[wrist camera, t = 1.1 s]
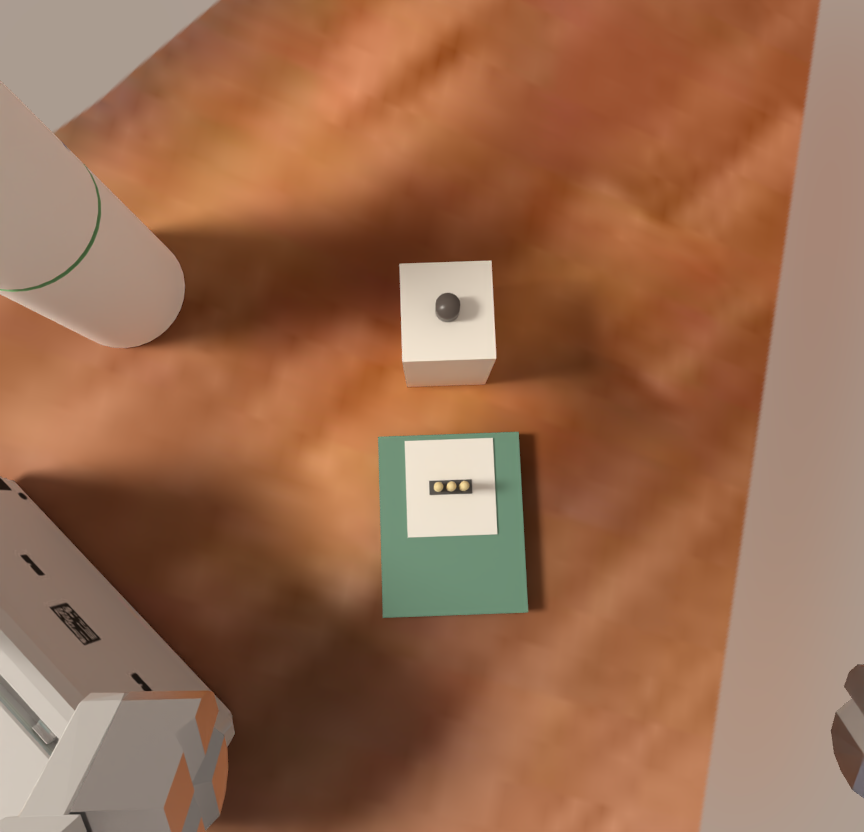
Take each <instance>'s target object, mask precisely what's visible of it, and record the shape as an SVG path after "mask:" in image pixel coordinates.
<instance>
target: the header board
mask: <svg viewBox="0 0 864 832" xmlns="http://www.w3.org/2000/svg"><path fill="white" fill-rule="evenodd" d="M378 447H379V486H380V525H381V564H382V603H383V618H391V617H417V616H444V615H471V614H497V613H524V612H528V599H527V581H526V562H525V543H524V524H523V505H522V486H521V468H520V449H519V432H502V433H473V434H445V435H417V436H389V437H378Z"/></svg>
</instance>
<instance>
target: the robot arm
mask: <svg viewBox="0 0 864 832" xmlns="http://www.w3.org/2000/svg"><path fill="white" fill-rule="evenodd" d="M844 687H845V688H846V690H847V691H848V693H849V695H850V696H851V698H852V699H851V700H849V701H848V702H847V703H846V704H845V705H843V706H842V707H841V708H840V709H838V710H837V711H836V713H835V718H834V721H833V726H832V729H831V734H832V741H833V749H834V754H835V757H836V759H837V762H838V765H839V767H840V770H841V772H842V774H843V775H844V777H845V778H846V780H847V782H848V783H849V785H850V787H851V789H852V790H853V791H854V792H856V793H857V794H859V795H860V796H861V797H863V798H864V664H858V665H857V666H855V667H854V668H853V669H852V670H851V671H850V672H849V674H848V677H847V680H846V682H845V685H844ZM218 712H219V710H218V706H217V702H216V699H215V695H214V692H211V691H130V692H101V693H90V694H89V695H88V696H86V697H85V698H84V699H83V700H82V701H81V702H80V703H79V704H78V706H77V708H76V710H75V712H74V714H73V715H72V717H71V719H70V721H69V723H68V725H67V727H66V728H65V730H64V732H63V734H62V736H61V738H60V739H59V741H58V743H57V745H56V747H55V749H54V751H53V752H52V754H51V756H50V758H49V760H48V762H47V764H46V765H45V767H44V769H43V771H42V773H41V775H40V777H39V778H38V780H37V782H36V784H35V786H34V788H33V790H32V791H31V793H30V795H29V797H28V799H27V801H26V802H25V804H24V806H23V808H22V810H21V812H20V814H19V815H18V816H15V817H5V818H3V819H2V820H1V821H0V832H205V830H206V829H207V828H208V827H209V826H210V825H211V824H212V823H213V822H214V821H215V820H216V819H217V818H218V817H219V816H220V813H221V809H222V805H223V801H224V797H225V793H226V784H227V775H228V751H227V745H226V740H225V735H223V734H222V733H221V732H220V731H218V730H217V729H216V728H215V727H214V725H215V722H216V718H217V715H218Z"/></svg>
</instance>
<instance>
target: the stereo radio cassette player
mask: <svg viewBox="0 0 864 832" xmlns="http://www.w3.org/2000/svg"><path fill="white" fill-rule="evenodd" d="M130 691H211V690H210V689H209V688H208V687H207V686H206V685H205V684H204V683H203V682H202V681H201V680H200V678H199V677H198V676H197V675H196V674H195V673H194V672H193V671H192V670H191V669H190V668H189V667H188V666H187V665H186V664H185V662H184V661H183V660H182V659H181V658H180V657H179V656H178V655H177V654H176V653H175V652H174V651H173V650H172V649H171V648H170V647H169V645H168V644H167V643H166V642H165V641H164V640H163V639H162V638H161V637H160V636H159V635H158V634H157V633H156V632H155V631H154V629H153V628H152V627H151V626H150V625H149V624H148V623H147V622H146V621H145V620H144V619H143V618H142V617H141V616H140V615H139V614H138V612H137V611H136V610H135V609H134V608H133V607H132V606H131V605H130V604H129V603H128V602H127V601H126V600H125V599H124V598H123V596H122V595H121V594H120V593H119V592H118V591H117V590H116V589H115V588H114V587H113V586H112V585H111V584H110V583H109V582H108V581H107V579H106V578H105V577H104V576H103V575H102V574H101V573H100V572H99V571H98V570H97V569H96V568H95V567H94V566H93V565H92V563H91V562H90V561H89V560H88V559H87V558H86V557H85V556H84V555H83V554H82V553H81V552H80V551H79V550H78V549H77V548H76V546H75V545H74V544H73V543H72V542H71V541H70V540H69V539H68V538H67V537H66V536H65V535H64V534H63V533H62V532H61V530H60V529H59V528H58V527H57V526H56V525H55V524H54V523H53V522H52V521H51V520H50V519H49V518H48V517H47V516H46V514H45V513H44V512H43V511H42V510H41V509H40V508H39V507H38V506H37V505H36V504H35V503H34V502H33V501H32V500H31V499H30V497H29V496H28V495H27V494H26V493H25V492H24V491H23V490H22V489H21V488H20V487H19V486H18V485H17V484H16V483H15V481H12V480H8V479H7V478H2V477H1V476H0V821H1V820H2V819H3V818H5V817H15V816H18V815H19V814H20V812H21V810H22V808H23V806H24V804H25V802H26V801H27V799H28V797H29V795H30V793H31V791H32V790H33V788H34V786H35V784H36V782H37V780H38V778H39V777H40V775H41V773H42V771H43V769H44V767H45V765H46V764H47V762H48V760H49V758H50V756H51V754H52V752H53V751H54V749H55V747H56V745H57V743H58V741H59V739H60V738H61V736H62V734H63V732H64V730H65V728H66V727H67V725H68V723H69V721H70V719H71V717H72V715H73V714H74V712H75V710H76V708H77V706H78V704H79V703H80V702H81V701H82V700H83V699H84V698H85V697H86V696H88V695H89V694H90V693H101V692H130ZM211 692H212V691H211ZM214 695H215V694H214ZM215 699H216V702H217V706H218V710H219V712H218V715H217V718H216V722H215V725H214V727H215V728H216V729H217V730H218V731H220V732H221V733H222V734H223V735H225V740H226V745H227V747H228V745H229V744H230V742H231V740H232V738H233V736H234V734H235V731H234V726H233V720H232V717H233V716H232V714H231V712H230V710H229V709H228V708H227V707H226V706H225V705H224V704H223V703H222V702H221V701H220V700H219V699H218V698H217V697H216V696H215Z"/></svg>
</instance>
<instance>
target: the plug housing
mask: <svg viewBox="0 0 864 832" xmlns="http://www.w3.org/2000/svg"><path fill="white" fill-rule="evenodd" d="M399 267H400V299H401V332H402V362H403V368H404V373H405V379H406V384H407V387H422V386H451V385H479V384H485V383H486V381H487V379H488V376H489V374H490V372H491V370H492V367H493V365H494V363H495V360H496V342H495V322H494V302H493V281H492V261H464V262H434V263H404V264H399Z"/></svg>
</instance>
